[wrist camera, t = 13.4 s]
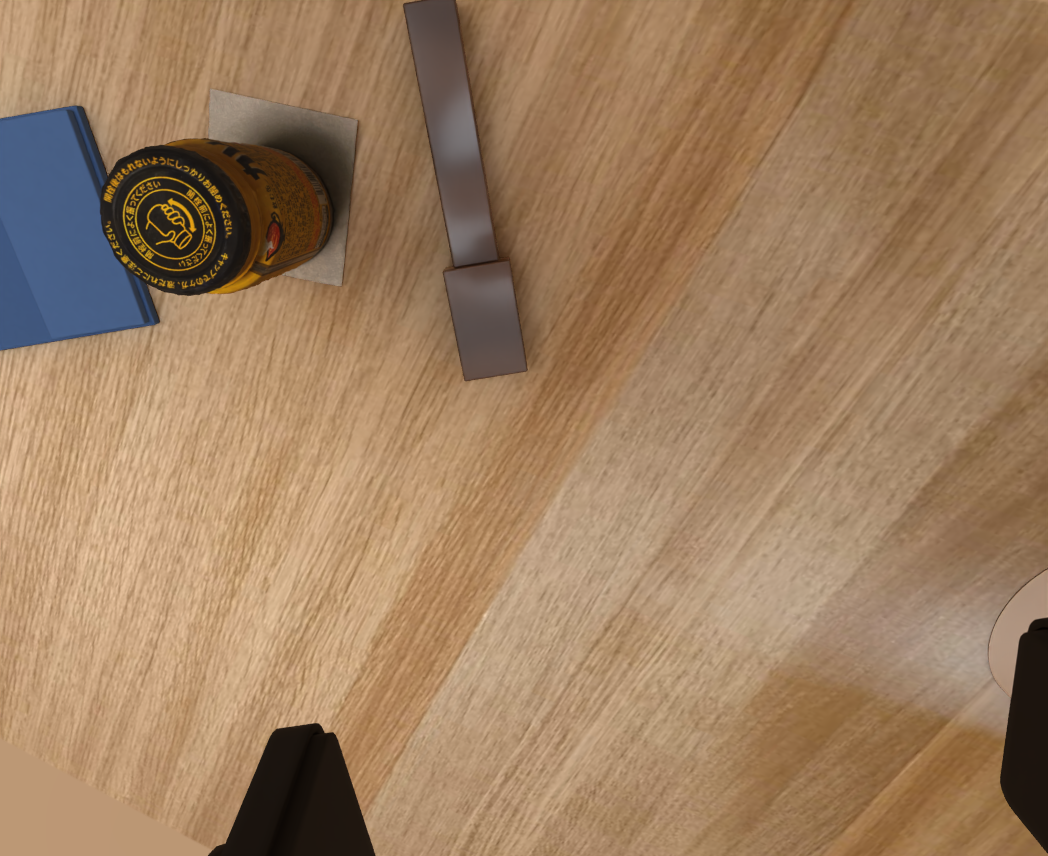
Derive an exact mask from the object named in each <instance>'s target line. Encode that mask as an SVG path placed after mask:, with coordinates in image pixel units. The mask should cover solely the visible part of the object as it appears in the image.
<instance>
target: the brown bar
mask: <svg viewBox="0 0 1048 856" xmlns="http://www.w3.org/2000/svg"><path fill="white" fill-rule="evenodd" d="M403 8H404V13H405V18H406V23H407V29H408V34H409V39H410V44H411V49H412V55H413V60H414V65H415V70H416V75H417V80H418V86H419V91H420V96H421V101H422V106H423V112H424V117H425V122H426V127H427V132H428V138H429V143H430V148H431V153H432V158H433V164H434V169H435V174H436V179H437V184H438V189H439V195H440V200H441V205H442V210H443V215H444V221H445V226H446V231H447V236H448V241H449V247H450V252H451V257H452V262H453V266H451V267H446V268H445V269H444V271H443V275H444V280H445V285H446V290H447V296H448V301H449V306H450V311H451V316H452V321H453V326H454V331H455V336H456V341H457V346H458V351H459V356H460V361H461V366H462V371H463V376H464V380H465V381H470V380H476V379H483V378H489V377H495V376H501V375H507V374H513V373H519V372H526V371H527V370H528V369H527V363H526V356H525V350H524V344H523V338H522V332H521V326H520V319H519V313H518V307H517V301H516V295H515V289H514V282H513V276H512V270H511V264H510V258H509V257H505V258H499V253H498V247H497V241H496V235H495V229H494V223H493V217H492V211H491V205H490V199H489V193H488V187H487V181H486V175H485V169H484V163H483V157H482V151H481V145H480V139H479V133H478V127H477V122H476V116H475V110H474V104H473V98H472V92H471V86H470V80H469V74H468V68H467V62H466V56H465V50H464V44H463V38H462V32H461V26H460V20H459V14H458V8H457V4H456V0H420V1H414V2H409V3H404V4H403Z"/></svg>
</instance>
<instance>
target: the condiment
mask: <svg viewBox="0 0 1048 856" xmlns="http://www.w3.org/2000/svg"><path fill="white" fill-rule="evenodd" d="M357 122H358V120H355V119H350V118H346V117H340V116H336V115H331V114H326V113H322V112H317V111H312V110H308V109H303V108H298V107H294V106H289V105H284V104H280V103H274V102H271V101H266V100H261V99H256V98H252V97H247V96H242V95H237V94H233V93H228V92H224V91H219V90H214V89H210V103H209V131H208V135H209V139H206V138H204V139H183V140H178V141H173V142H170V143H168V144H166V145H158V146H150V147H145V148H144V149H140V150H138V151H136V152H134V153H131V154H130V155H128V156H126V157H123V158H122V159H120V160H118V161H117V162H116V164H115V166H114V168H113V170H112V171H111V173H110V175H109V176H108V178H107V180H106V182H105V184H104V185H103V186H102V191H101V197H100V215H101V225H102V231H103V233H104V235H105V237H106V239H107V240H108V242H109V244H110V246H111V248H112V251H113V254H114V256H115V257H116V259H117V260H118V261H119V262H120V263H121V264H122V266H124V267H125V268H126V269H127V270H128V271H129V272H130V273H131V274H133V275H135V276H136V277H137V278H138V279H140V280H141V281H143V282H144V283H146V284H148V285H150V286H152V287H155V288H157V289H158V290H161V291H163V292H167V293H174V294H177V295H187V296H191V295H200V294H203V293H210V294H228V293H234V292H236V291H240V290H243V289H248V288H250V287H253V286H256V285H258V284H260V283H261V282H263V281H265V280H269V279H270V278H273V277H277V276H279V275H284V276H288V277H294V278H299V279H304V280H308V281H314V282H319V283H324V284H329V285H334V286H340V287H341V286H342V276H343V267H344V258H345V246H346V239H347V230H348V219H349V206H350V193H351V185H352V175H353V166H354V155H355V141H356V132H357Z"/></svg>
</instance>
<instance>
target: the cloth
mask: <svg viewBox="0 0 1048 856" xmlns="http://www.w3.org/2000/svg"><path fill="white" fill-rule="evenodd" d="M107 178H108V177H107V174H106V171H105V168H104V165H103V163H102V160H101V157H100V154H99V151H98V149H97V146H96V143H95V140H94V138H93V135H92V132H91V129H90V126H89V124H88V121H87V118H86V115H85V112H84V110H83V107H81V106H69V107H64V108H58V109H52V110H47V111H41V112H35V113H30V114H24V115H18V116H12V117H7V118H1V119H0V350H6V349H12V348H18V347H24V346H30V345H36V344H42V343H48V342H54V341H60V340H66V339H72V338H78V337H84V336H90V335H96V334H102V333H108V332H114V331H120V330H126V329H132V328H138V327H144V326H150V325H155V324H158V323H159V319H158V316H157V313H156V311H155V308H154V305H153V302H152V299H151V297H150V294H149V291H148V288H147V285H146V283H144V282H143V281H141V280H140V279H138V278H137V277H136V276H135V275H133V274H131V273H130V272H129V271H128V270H127V269H126V268H125V267H124V266H122V264H121V263H120V262H119V261H118V260H117V259H116V257H115V256H114V254H113V251H112V248H111V246H110V244H109V242H108V240H107V239H106V237H105V235H104V233H103V231H102V225H101V215H100V197H101V191H102V186H103V185H104V184H105V182H106V180H107Z"/></svg>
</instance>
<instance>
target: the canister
mask: <svg viewBox="0 0 1048 856" xmlns="http://www.w3.org/2000/svg"><path fill="white" fill-rule="evenodd" d="M1047 617H1048V569H1047V570H1045V571H1044V572H1042V573H1041V574H1039V575H1038V576H1036V577H1035V578H1034V579H1032V580H1031V581H1030V582H1029V583H1027V584H1026V585H1025V586H1024V587H1023V588H1022V589H1021V590H1020V591H1019V592H1018V593H1017V594H1016V595H1015V596H1014V597H1013V598H1012V599H1011V600H1010V602H1009V603H1008V604H1007V606H1006V607H1005V608H1004V610H1003V611H1002V613H1001V615H1000V616H999V618H998V620H997V622H996V624H995V626H994V629H993V632H992V635H991V638H990V643H989V652H988V656H989V665H990V669H991V672H992V674H993V677H994V679H995V680H996V682H997V683H998V685H999V686H1000V687H1001V688H1002V689H1003V690H1004V691H1005V692H1006V693H1007V694H1008V696H1009V697H1010V698H1011V695H1012V688H1013V681H1014V674H1015V666H1016V659H1017V652H1018V644H1019V639H1020V636H1021V635H1022V634H1023V633H1025V632H1028V628H1029V625H1030V624H1031V623H1032V622H1033V621H1034V620H1036V619H1040V618H1047Z"/></svg>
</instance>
